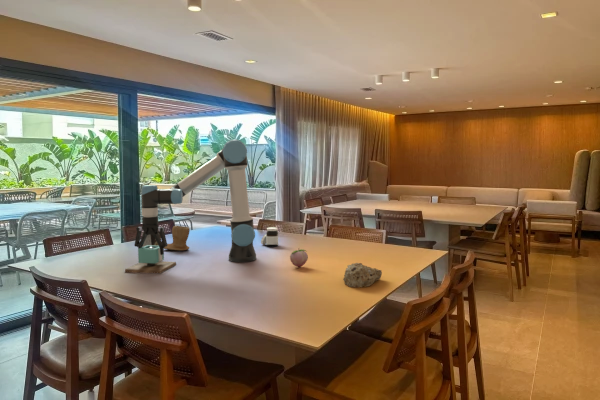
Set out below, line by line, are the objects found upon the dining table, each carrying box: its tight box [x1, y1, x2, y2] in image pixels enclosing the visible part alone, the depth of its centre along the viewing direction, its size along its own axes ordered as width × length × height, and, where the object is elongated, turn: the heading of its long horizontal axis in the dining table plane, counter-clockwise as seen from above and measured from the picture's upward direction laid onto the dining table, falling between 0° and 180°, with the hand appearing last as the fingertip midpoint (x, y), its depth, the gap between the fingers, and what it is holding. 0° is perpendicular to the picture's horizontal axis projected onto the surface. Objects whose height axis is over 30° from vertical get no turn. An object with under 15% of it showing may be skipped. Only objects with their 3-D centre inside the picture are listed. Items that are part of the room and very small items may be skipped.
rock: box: [342, 262, 383, 288], centre depth 188 cm, size 21×14×10 cm
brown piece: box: [164, 225, 190, 252], centre depth 258 cm, size 15×12×15 cm
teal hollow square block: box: [137, 245, 165, 264], centre depth 212 cm, size 9×9×7 cm
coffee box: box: [141, 229, 161, 247], centre depth 230 cm, size 9×6×16 cm
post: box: [147, 247, 156, 266], centre depth 212 cm, size 4×4×11 cm
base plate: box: [124, 260, 177, 274], centre depth 212 cm, size 18×18×2 cm
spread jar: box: [260, 226, 279, 248], centre depth 272 cm, size 12×11×12 cm
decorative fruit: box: [289, 248, 309, 268], centre depth 215 cm, size 9×8×10 cm
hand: (151, 260), depth 212 cm, fingers closed on teal hollow square block, 9 cm apart
